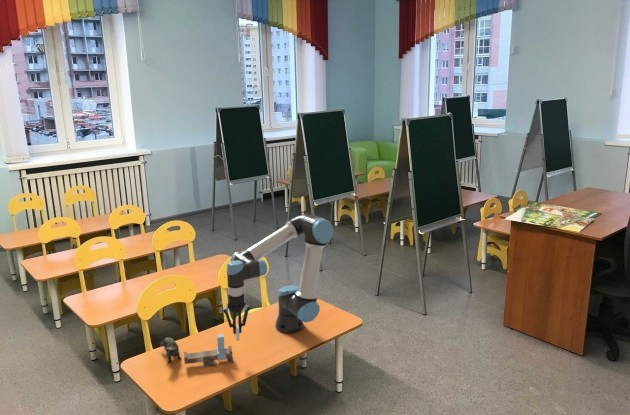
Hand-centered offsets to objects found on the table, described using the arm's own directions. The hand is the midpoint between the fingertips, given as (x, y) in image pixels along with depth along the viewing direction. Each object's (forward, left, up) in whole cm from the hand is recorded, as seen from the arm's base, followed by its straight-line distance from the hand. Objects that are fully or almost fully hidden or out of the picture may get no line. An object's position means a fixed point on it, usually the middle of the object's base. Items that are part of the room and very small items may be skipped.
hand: (237, 339), depth 238 cm
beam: (+14, 0, -11) cm, 18 cm away
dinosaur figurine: (+31, -10, -11) cm, 34 cm away
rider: (+8, 0, -8) cm, 11 cm away
